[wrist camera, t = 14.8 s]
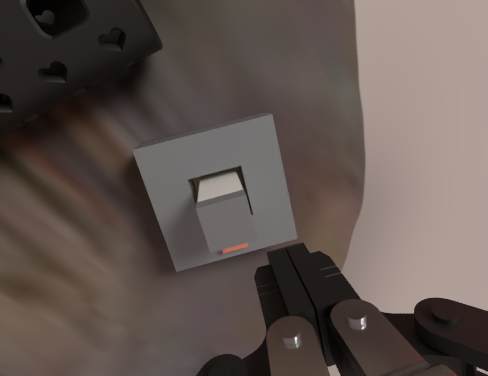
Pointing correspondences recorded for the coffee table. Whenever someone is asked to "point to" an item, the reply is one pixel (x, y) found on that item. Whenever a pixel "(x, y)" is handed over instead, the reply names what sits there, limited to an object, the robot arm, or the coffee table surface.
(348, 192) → the coffee table surface
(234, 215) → the plug
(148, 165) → the socket
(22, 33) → the muzzle brake
